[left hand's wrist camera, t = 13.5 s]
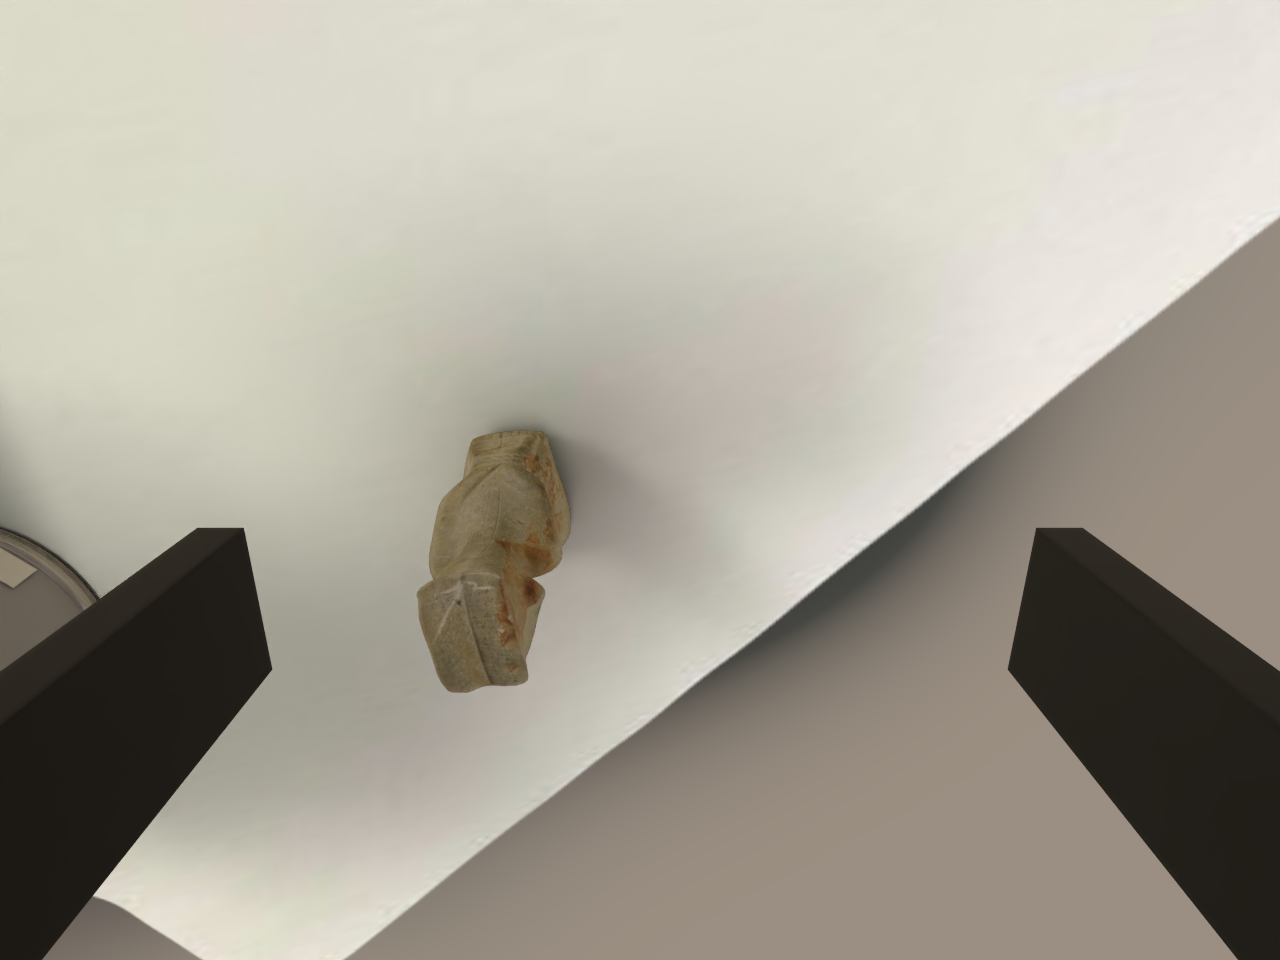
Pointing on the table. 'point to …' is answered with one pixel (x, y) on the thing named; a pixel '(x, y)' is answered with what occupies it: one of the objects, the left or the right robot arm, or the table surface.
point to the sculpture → (493, 561)
